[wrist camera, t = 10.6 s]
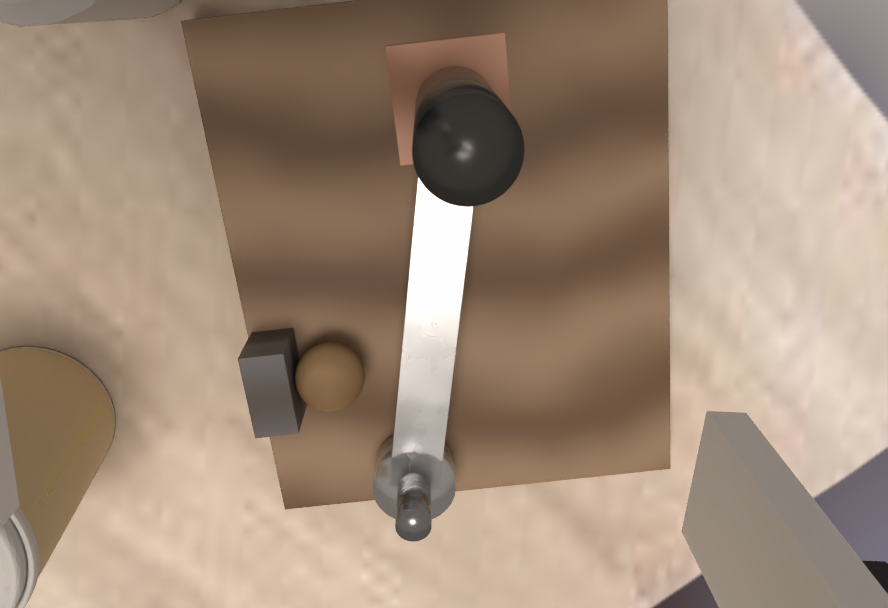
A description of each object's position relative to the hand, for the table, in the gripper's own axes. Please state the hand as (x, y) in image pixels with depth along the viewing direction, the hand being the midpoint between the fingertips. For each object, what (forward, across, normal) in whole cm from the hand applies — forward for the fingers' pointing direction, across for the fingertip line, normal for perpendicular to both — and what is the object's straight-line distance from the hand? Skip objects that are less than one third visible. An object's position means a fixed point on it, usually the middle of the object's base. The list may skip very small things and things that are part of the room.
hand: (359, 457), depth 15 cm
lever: (+22, +2, -5) cm, 22 cm away
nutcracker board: (+24, +3, -4) cm, 24 cm away
